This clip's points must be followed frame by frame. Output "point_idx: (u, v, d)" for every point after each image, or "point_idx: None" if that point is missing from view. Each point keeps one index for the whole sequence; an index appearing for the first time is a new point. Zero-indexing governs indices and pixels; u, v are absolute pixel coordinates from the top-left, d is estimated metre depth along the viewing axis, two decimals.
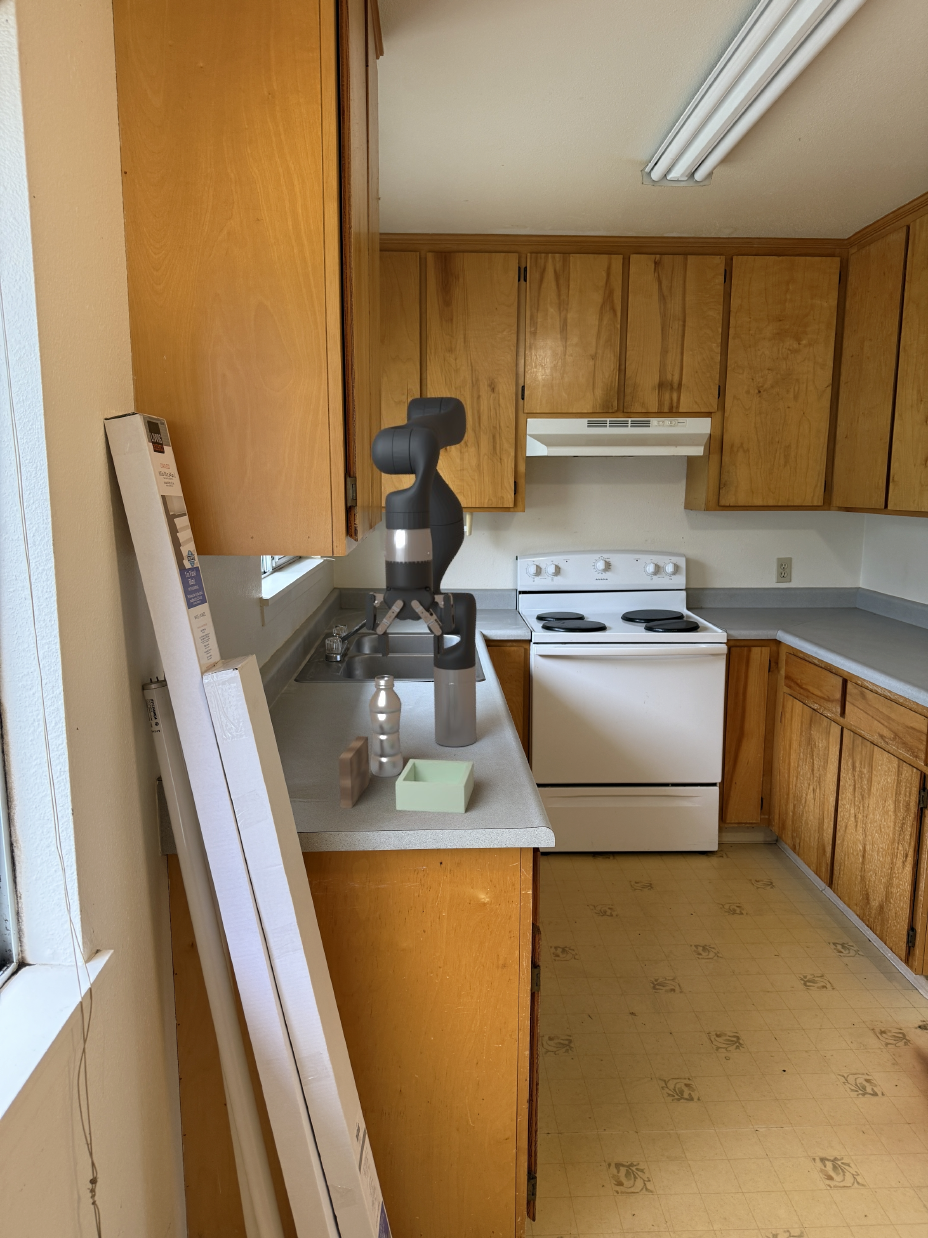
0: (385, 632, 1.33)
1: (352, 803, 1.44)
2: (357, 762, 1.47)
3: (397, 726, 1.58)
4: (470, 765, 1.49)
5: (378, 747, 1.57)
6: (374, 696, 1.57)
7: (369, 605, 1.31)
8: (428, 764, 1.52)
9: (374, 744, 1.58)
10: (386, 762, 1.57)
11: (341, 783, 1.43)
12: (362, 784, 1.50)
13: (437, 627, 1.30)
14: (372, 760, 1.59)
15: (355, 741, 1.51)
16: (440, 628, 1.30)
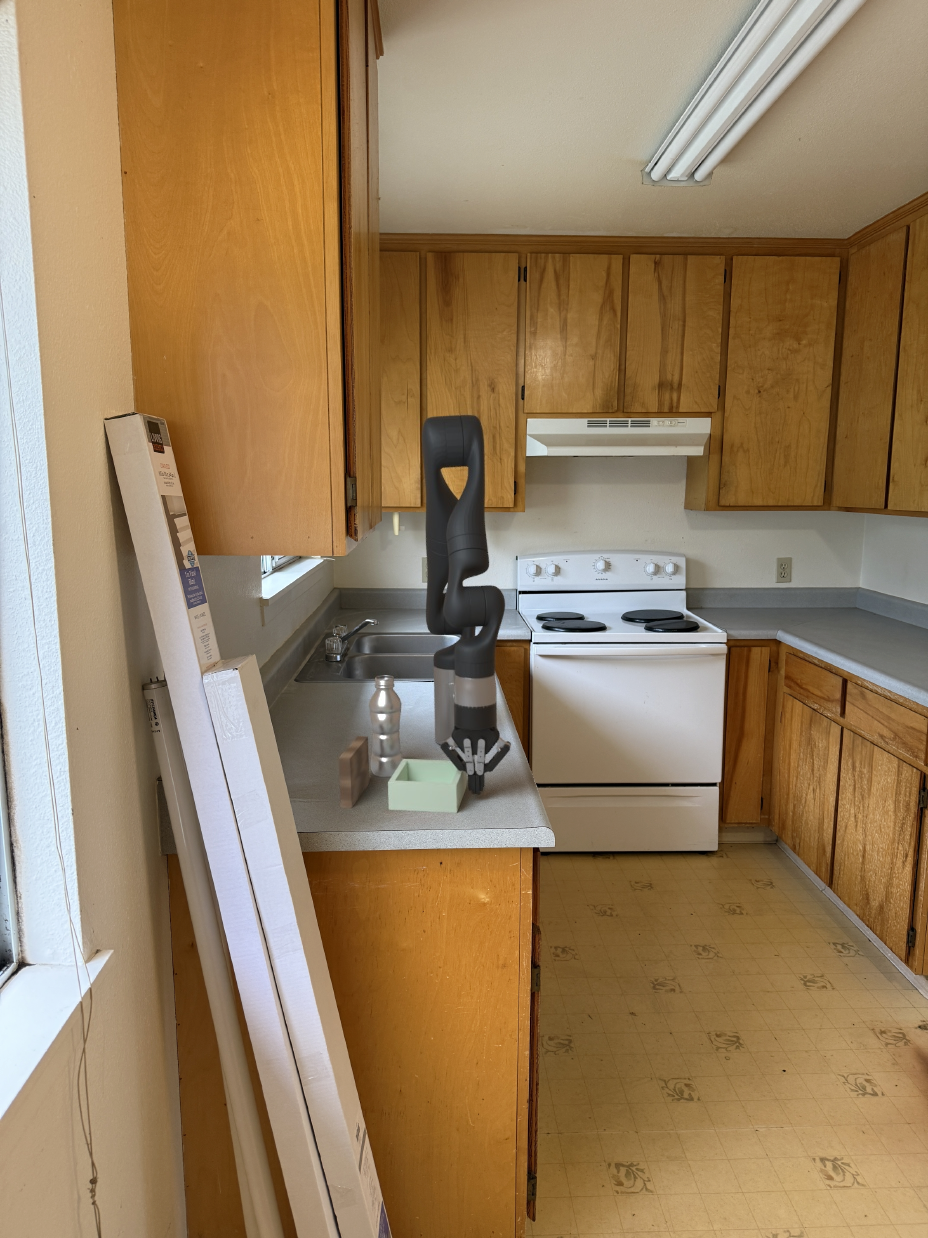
0: (474, 772, 1.45)
1: (352, 803, 1.44)
2: (357, 762, 1.47)
3: (397, 726, 1.58)
4: None
5: (378, 747, 1.57)
6: (374, 696, 1.57)
7: (448, 752, 1.44)
8: (421, 764, 1.52)
9: (374, 744, 1.58)
10: (386, 762, 1.57)
11: (341, 783, 1.43)
12: (362, 784, 1.50)
13: (482, 769, 1.44)
14: (372, 760, 1.59)
15: (355, 741, 1.51)
16: None
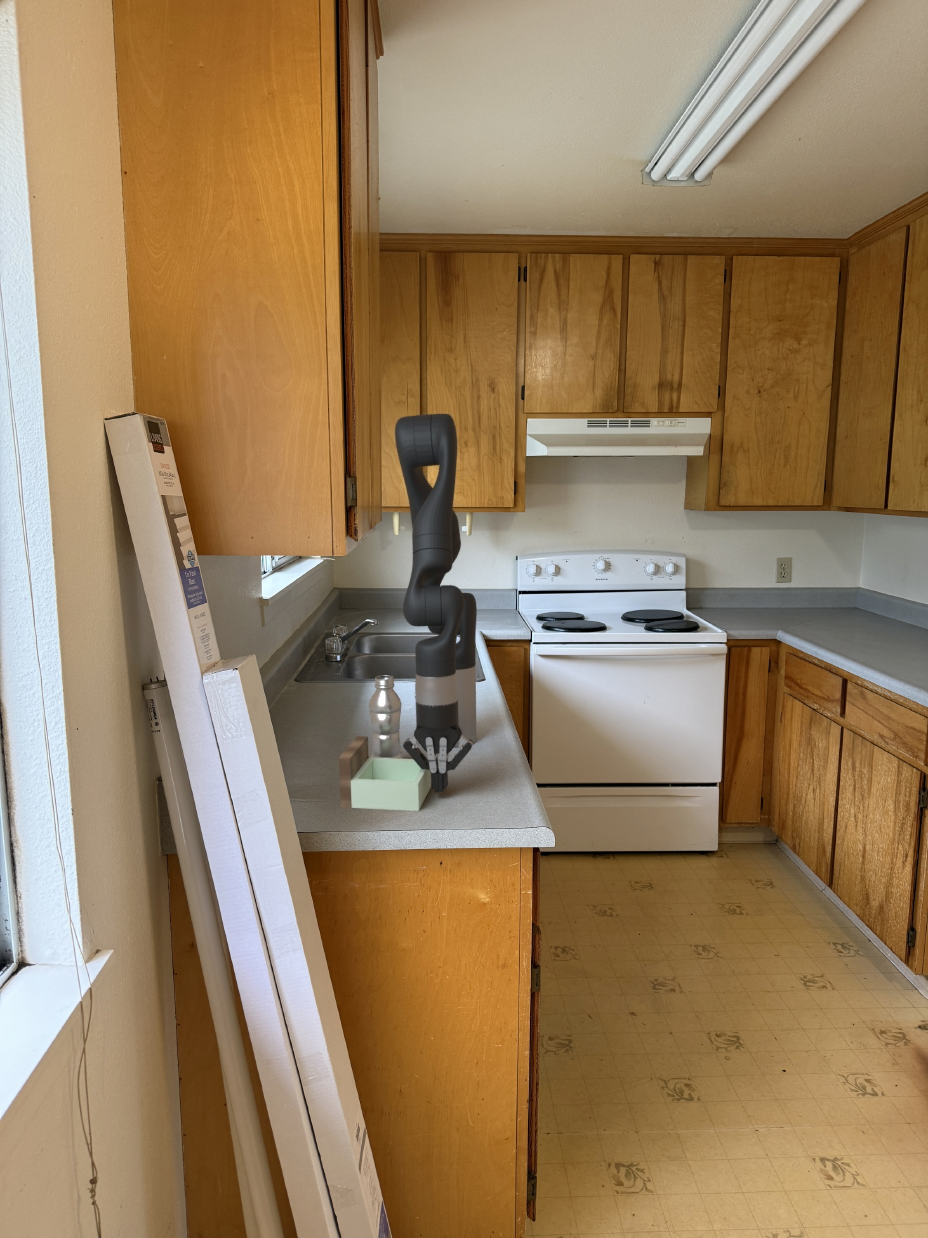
0: (437, 770, 1.46)
1: None
2: (357, 762, 1.47)
3: (397, 726, 1.58)
4: None
5: (378, 747, 1.57)
6: (374, 696, 1.57)
7: (410, 751, 1.45)
8: (386, 762, 1.53)
9: (374, 744, 1.58)
10: None
11: (341, 783, 1.43)
12: None
13: (444, 767, 1.45)
14: None
15: (355, 741, 1.51)
16: None
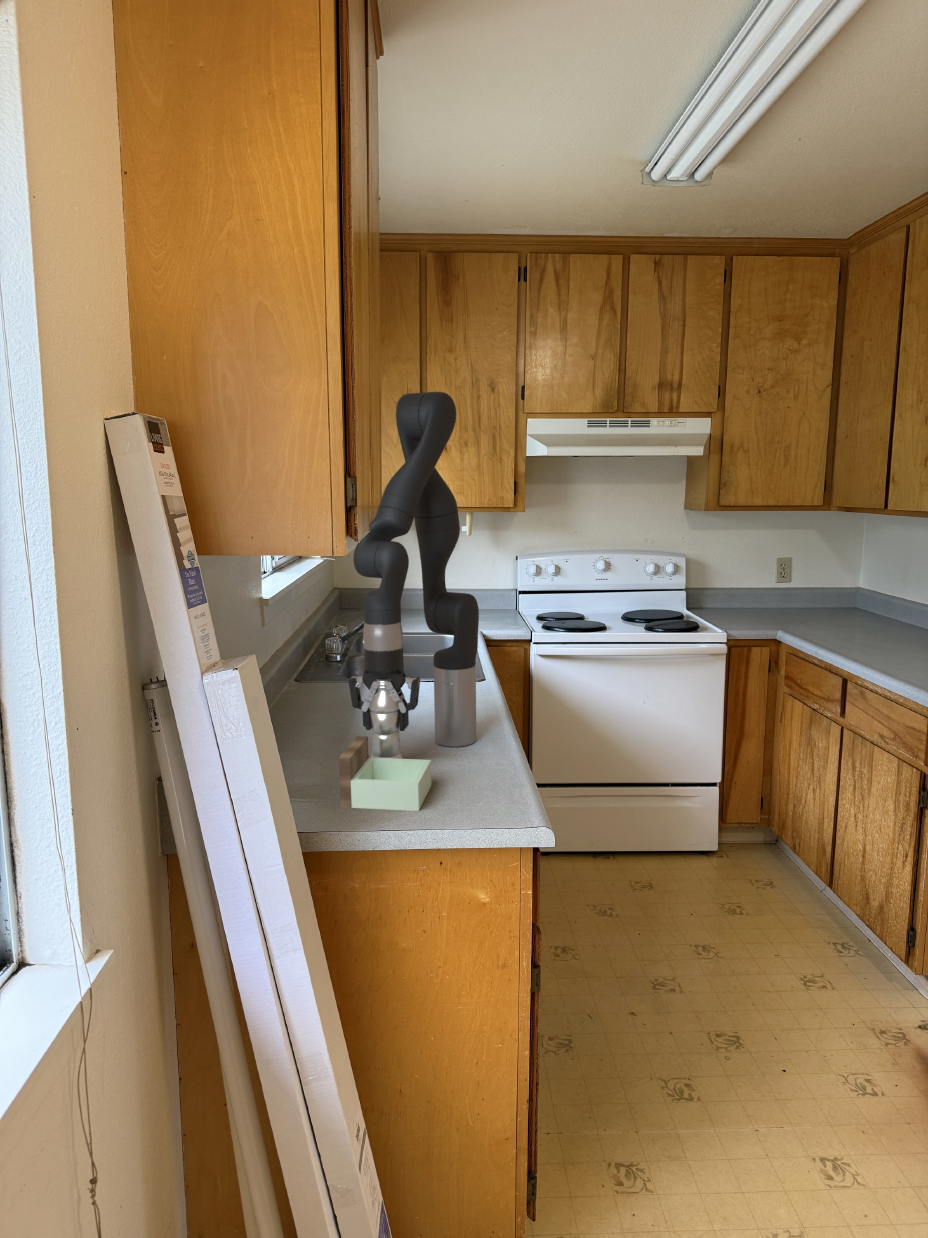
0: None
1: None
2: (357, 762, 1.47)
3: (397, 726, 1.58)
4: (427, 763, 1.51)
5: (378, 747, 1.57)
6: (374, 696, 1.57)
7: (352, 688, 1.57)
8: (386, 762, 1.53)
9: (374, 744, 1.58)
10: None
11: (341, 783, 1.43)
12: None
13: (403, 706, 1.57)
14: None
15: (355, 741, 1.51)
16: (405, 707, 1.57)
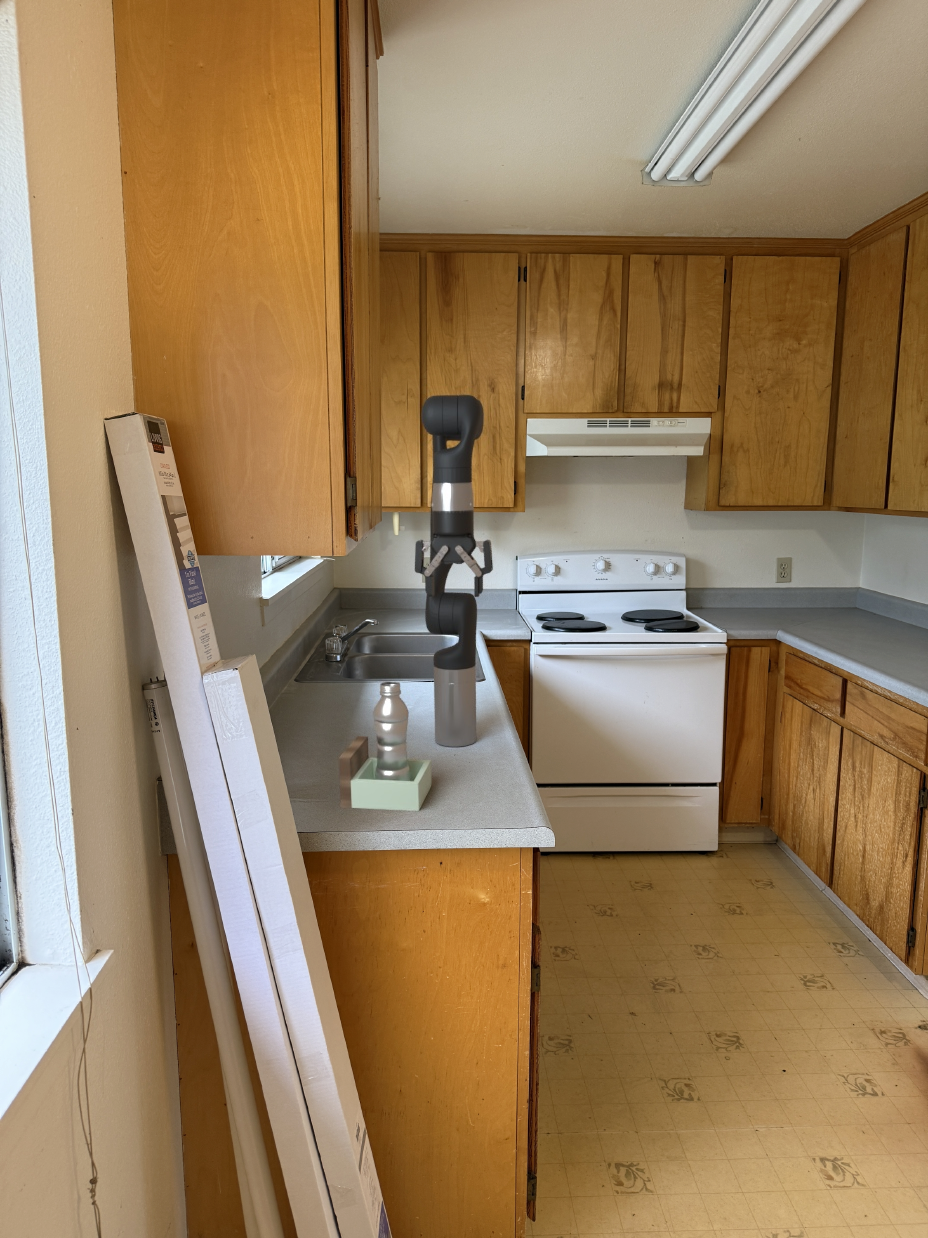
0: (431, 575, 1.51)
1: None
2: (357, 762, 1.47)
3: (404, 737, 1.45)
4: (427, 763, 1.51)
5: (384, 760, 1.45)
6: (379, 704, 1.44)
7: (418, 550, 1.50)
8: None
9: (379, 756, 1.46)
10: (392, 775, 1.45)
11: (341, 783, 1.43)
12: None
13: (478, 569, 1.49)
14: (377, 773, 1.46)
15: (355, 741, 1.51)
16: (480, 570, 1.49)
